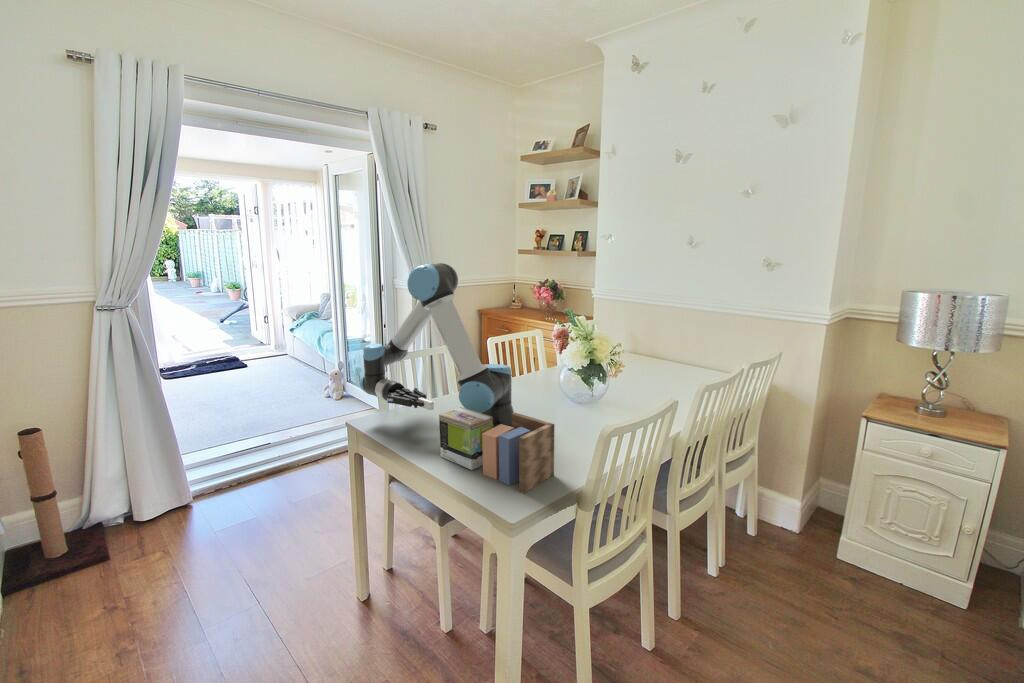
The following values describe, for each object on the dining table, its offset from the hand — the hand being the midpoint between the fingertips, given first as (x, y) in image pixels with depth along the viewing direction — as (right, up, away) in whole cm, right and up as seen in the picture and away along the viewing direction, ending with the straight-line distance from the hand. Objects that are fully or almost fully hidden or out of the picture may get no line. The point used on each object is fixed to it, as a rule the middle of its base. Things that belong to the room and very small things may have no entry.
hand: (431, 405), depth 159 cm
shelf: (+29, -18, -19) cm, 39 cm away
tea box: (+12, -16, -7) cm, 21 cm away
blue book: (+28, -18, -20) cm, 39 cm away
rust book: (+23, -18, -15) cm, 33 cm away
